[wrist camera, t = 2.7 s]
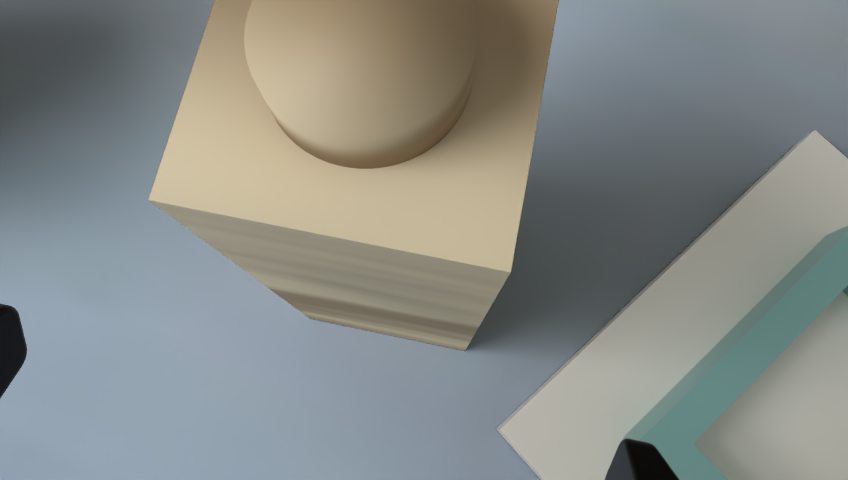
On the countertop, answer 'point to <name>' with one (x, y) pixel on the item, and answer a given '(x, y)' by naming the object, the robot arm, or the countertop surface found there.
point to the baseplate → (720, 347)
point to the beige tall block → (364, 153)
